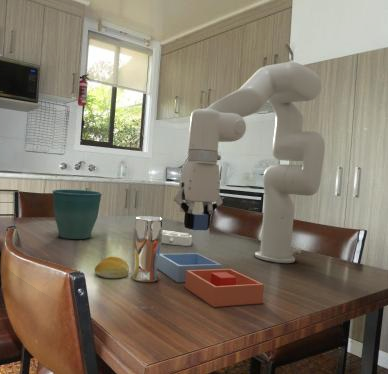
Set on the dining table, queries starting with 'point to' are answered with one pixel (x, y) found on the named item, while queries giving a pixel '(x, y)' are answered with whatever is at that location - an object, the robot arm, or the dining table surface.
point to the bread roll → (112, 268)
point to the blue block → (200, 221)
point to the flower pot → (76, 212)
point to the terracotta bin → (224, 288)
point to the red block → (222, 279)
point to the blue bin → (184, 264)
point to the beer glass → (147, 247)
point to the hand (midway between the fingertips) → (196, 227)
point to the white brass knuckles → (176, 238)
